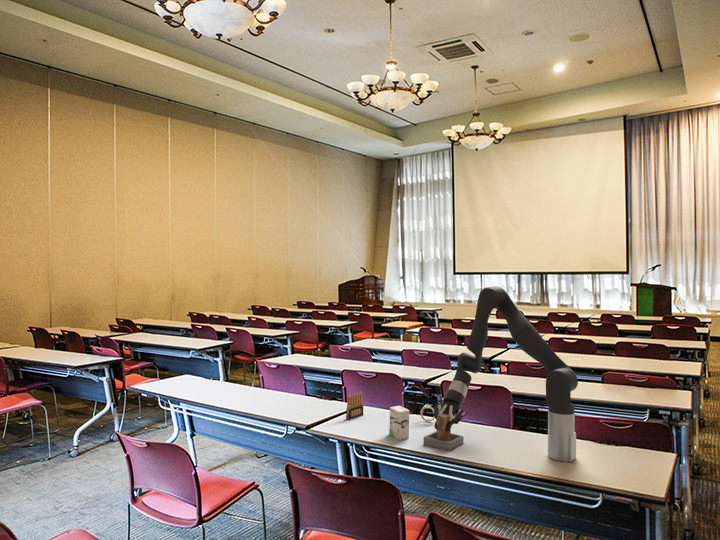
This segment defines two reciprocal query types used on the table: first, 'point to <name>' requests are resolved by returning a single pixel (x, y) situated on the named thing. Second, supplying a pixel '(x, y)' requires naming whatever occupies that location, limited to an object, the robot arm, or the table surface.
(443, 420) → the walnut block
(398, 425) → the ink box
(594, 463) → the table surface
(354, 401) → the ammunition clip
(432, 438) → the desk tray
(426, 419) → the ring
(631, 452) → the table surface
